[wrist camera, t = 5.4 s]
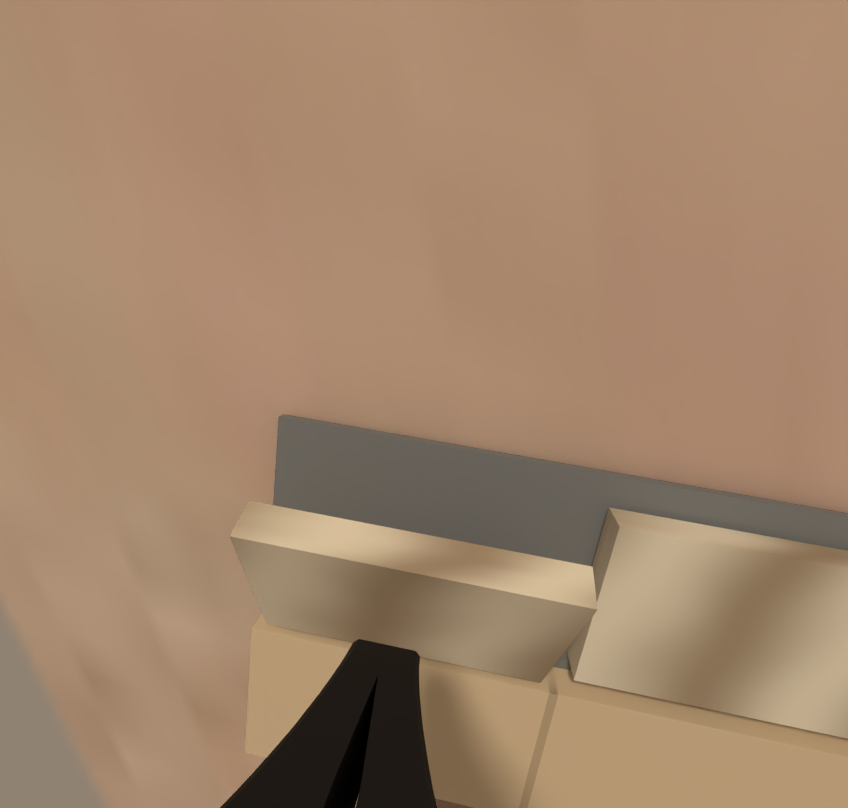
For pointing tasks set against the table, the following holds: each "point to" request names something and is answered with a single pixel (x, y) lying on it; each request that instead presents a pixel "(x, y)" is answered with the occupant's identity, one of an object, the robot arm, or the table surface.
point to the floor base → (558, 692)
